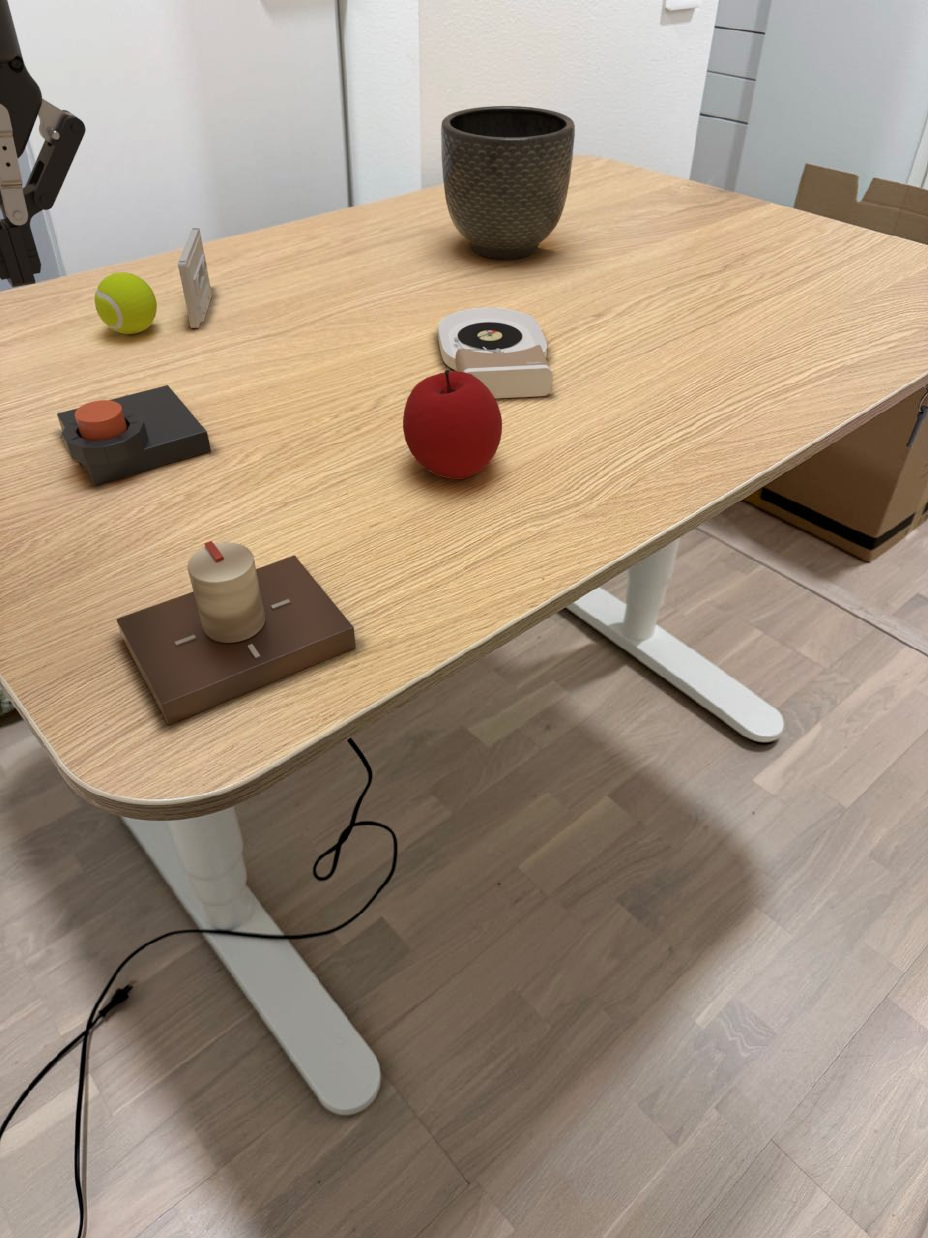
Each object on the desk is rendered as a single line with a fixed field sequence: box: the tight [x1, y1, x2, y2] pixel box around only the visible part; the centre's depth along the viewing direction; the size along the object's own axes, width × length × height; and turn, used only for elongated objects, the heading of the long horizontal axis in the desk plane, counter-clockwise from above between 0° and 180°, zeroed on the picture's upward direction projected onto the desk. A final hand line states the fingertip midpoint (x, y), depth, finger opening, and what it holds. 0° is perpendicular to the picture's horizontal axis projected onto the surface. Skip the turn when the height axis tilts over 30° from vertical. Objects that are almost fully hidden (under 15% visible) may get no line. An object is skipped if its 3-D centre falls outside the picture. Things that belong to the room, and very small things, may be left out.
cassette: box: [177, 227, 213, 329], centre depth 108 cm, size 12×2×8 cm, turn 5°
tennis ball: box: [94, 271, 158, 335], centre depth 104 cm, size 7×7×7 cm
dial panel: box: [115, 554, 357, 726], centre depth 65 cm, size 14×10×2 cm
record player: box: [437, 306, 554, 400], centre depth 100 cm, size 12×3×20 cm
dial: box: [186, 540, 265, 643], centre depth 63 cm, size 4×4×6 cm
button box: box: [56, 384, 212, 486], centre depth 85 cm, size 12×12×4 cm
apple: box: [402, 369, 503, 480], centre depth 81 cm, size 9×9×10 cm
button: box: [75, 399, 127, 441], centre depth 81 cm, size 4×4×2 cm
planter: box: [440, 105, 576, 261], centre depth 121 cm, size 17×17×16 cm
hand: (20, 281), depth 60 cm, fingers closed
